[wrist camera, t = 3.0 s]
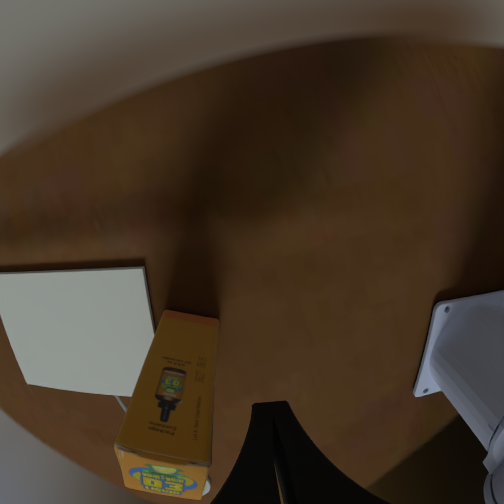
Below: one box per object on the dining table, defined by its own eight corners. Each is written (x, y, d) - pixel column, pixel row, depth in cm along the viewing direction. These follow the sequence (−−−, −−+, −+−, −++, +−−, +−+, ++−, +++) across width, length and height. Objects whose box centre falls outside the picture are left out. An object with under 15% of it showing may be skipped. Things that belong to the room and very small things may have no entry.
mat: (144, 266, 17) (142, 268, 16) (169, 394, 19) (168, 398, 19) (-8, 272, 16) (-11, 274, 16) (29, 380, 19) (27, 383, 18)
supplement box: (159, 354, 18) (117, 489, 9) (164, 306, 18) (109, 439, 8) (213, 365, 19) (202, 506, 9) (222, 317, 18) (213, 462, 8)
